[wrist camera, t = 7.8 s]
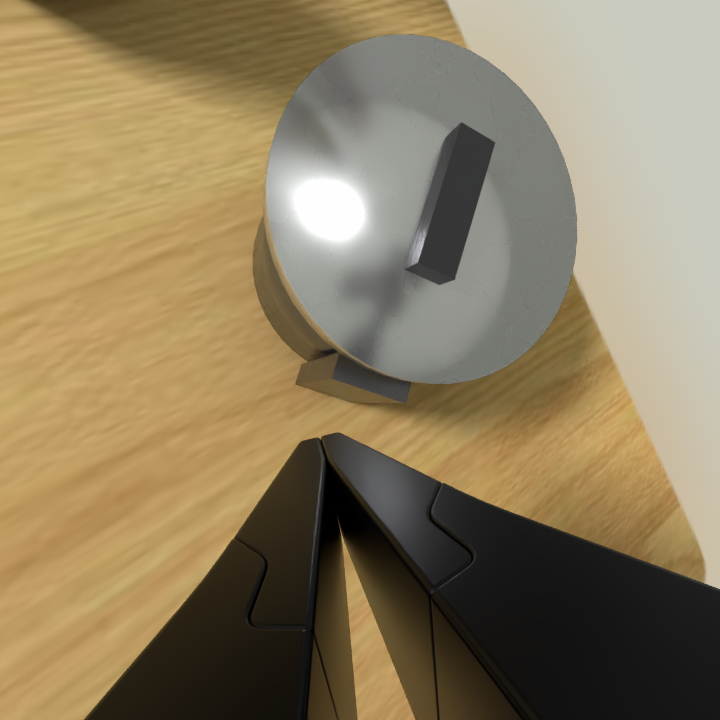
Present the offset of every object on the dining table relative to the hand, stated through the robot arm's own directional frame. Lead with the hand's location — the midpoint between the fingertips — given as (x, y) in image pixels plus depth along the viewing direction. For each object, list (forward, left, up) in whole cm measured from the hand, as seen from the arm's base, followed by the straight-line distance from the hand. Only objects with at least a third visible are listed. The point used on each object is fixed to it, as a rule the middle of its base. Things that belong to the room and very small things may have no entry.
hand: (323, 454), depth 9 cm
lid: (+9, -4, -5) cm, 10 cm away
